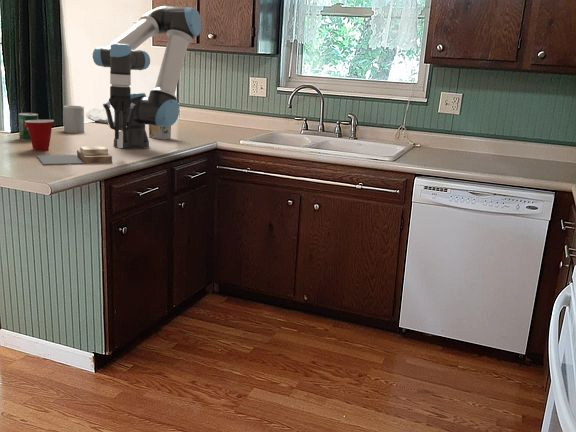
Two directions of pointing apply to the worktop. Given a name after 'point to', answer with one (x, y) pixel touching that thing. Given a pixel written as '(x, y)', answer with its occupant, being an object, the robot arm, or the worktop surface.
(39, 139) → the plastic cup
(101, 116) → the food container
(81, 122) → the cup
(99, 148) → the birch tile
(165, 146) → the worktop surface
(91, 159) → the walnut deck
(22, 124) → the canned tomato
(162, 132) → the coffee box
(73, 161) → the rubber mat
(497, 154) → the worktop surface
